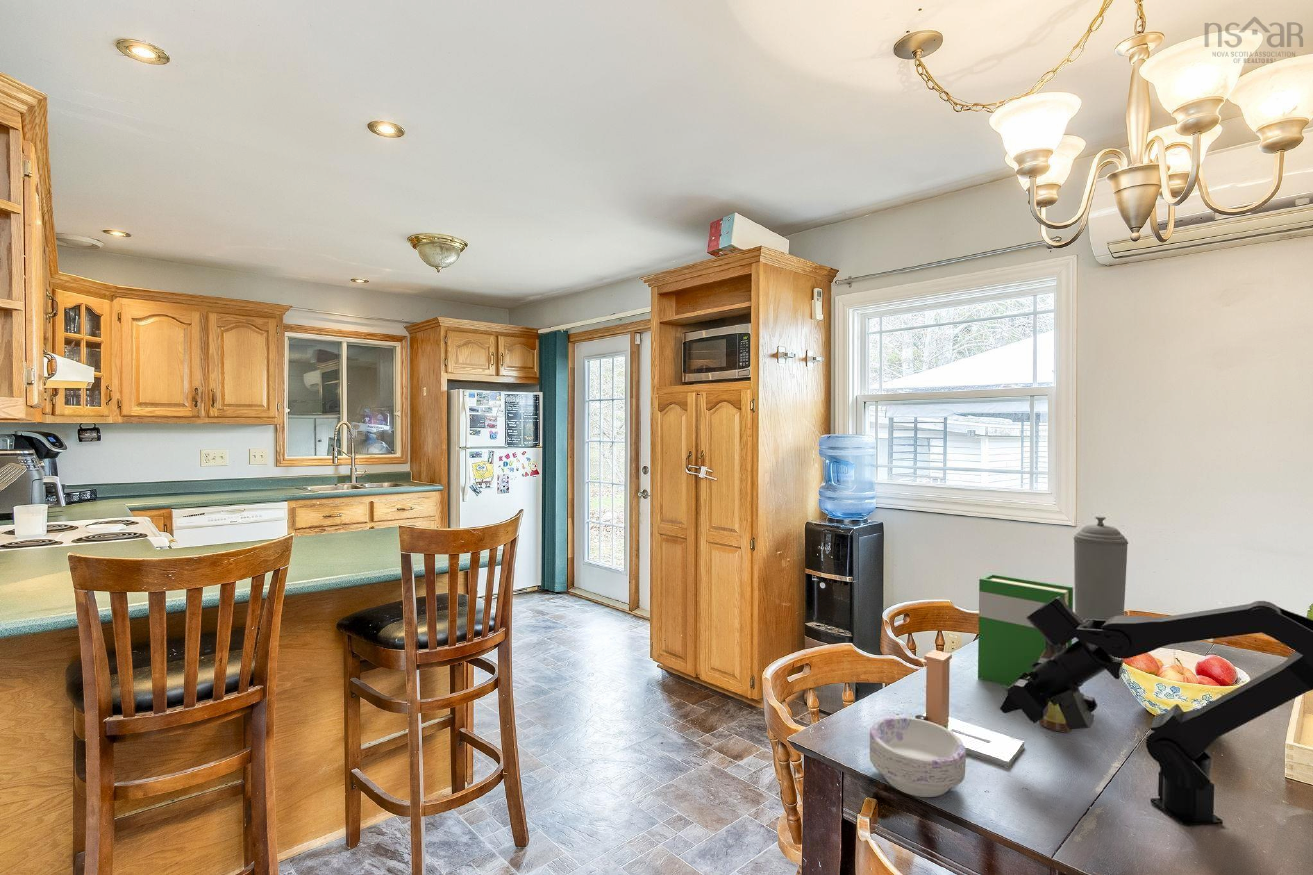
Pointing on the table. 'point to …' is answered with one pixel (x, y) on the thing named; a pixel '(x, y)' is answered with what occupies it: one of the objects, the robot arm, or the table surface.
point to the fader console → (984, 742)
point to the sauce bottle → (1054, 715)
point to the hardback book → (1012, 625)
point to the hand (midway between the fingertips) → (1002, 710)
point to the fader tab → (937, 687)
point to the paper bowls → (917, 755)
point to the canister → (1099, 571)
